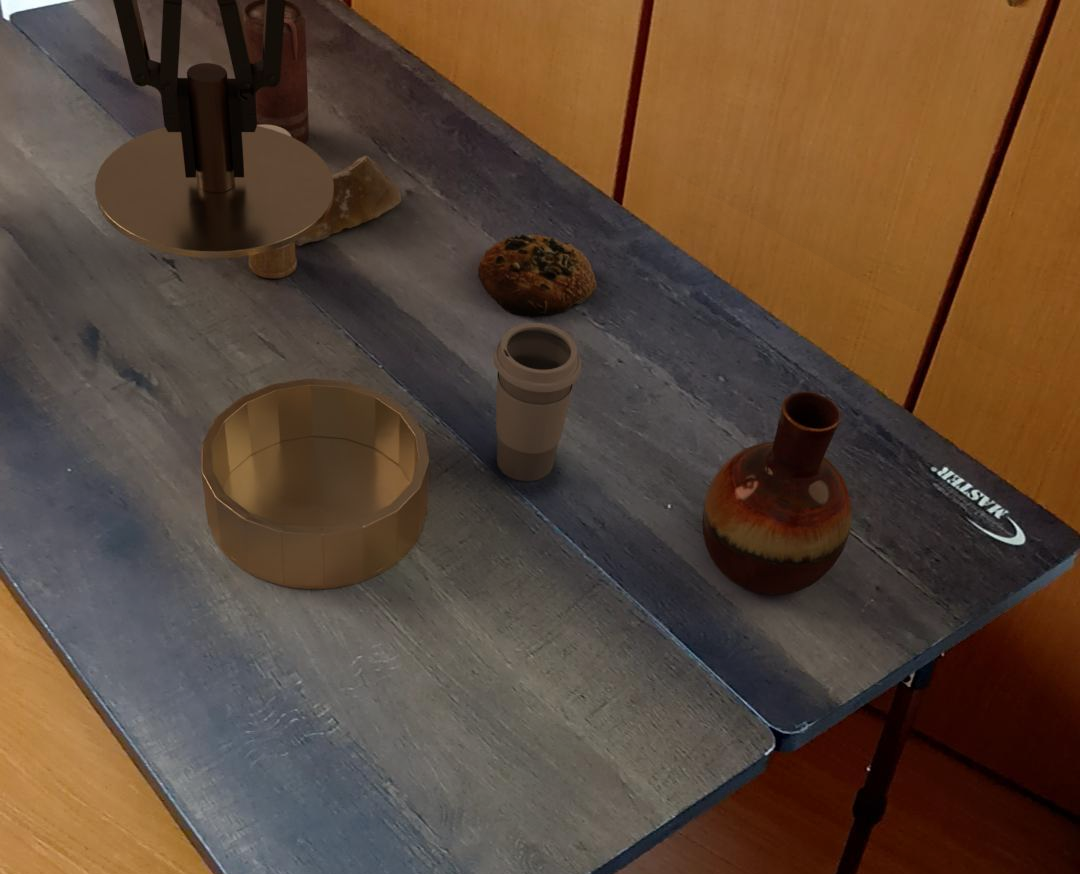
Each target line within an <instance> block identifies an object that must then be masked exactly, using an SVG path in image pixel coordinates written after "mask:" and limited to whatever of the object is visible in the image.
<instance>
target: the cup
mask: <svg viewBox="0 0 1080 874" xmlns="http://www.w3.org/2000/svg"><path fill="white" fill-rule="evenodd" d="M492 360H493V364H494V367H495V369H496V371H497V374H496V409H495V410H496V411H495V412H496V415H495V431H496V435H497V439H496V440H497V442H496V443H497V444H496V445H497V446H496V464H497V466H498V468H499V470H500V471H501V472H502V473H503V474H504V475H505V476H507V477H509V478H510V479H513V480H516V481H519V482H536V481H539V480H542V479H543V478H545V477H547V476H548V475H549V474H550V473H551V471H552V470H553V467H554V463H555V458H556V453H557V449H558V446H559V443H560V441H561V439H562V435H563V431H564V426H565V423H566V418H567V414H568V409H569V405H570V401H571V396H572V392H573V388H574V383H575V382H576V381H577V380H578V378H579V377H580V375H581V371H582V362H581V356H580V354H579V352H578V347H577V344H576V342H575V340H574V339H573V338H572V336H570V335H569V334H568V333H567V332H566V331H565V330H562V329H561V328H559V327H556V326H554V325H551V324H547V323H542V322H526V323H521V324H517V325H515V326H513V327H511V328H509V329H508V330H507V331H506V332H505V333H504V334H503V335H502V338H501V339H500V340H499V341H498V343H497V345H496V346H495V349H494V351H493V358H492Z"/></svg>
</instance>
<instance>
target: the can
mask: <svg viewBox="0 0 1080 874" xmlns="http://www.w3.org/2000/svg"><path fill="white" fill-rule="evenodd" d="M264 12H265V0H254V1H252V2H250V3H248V4H247V5H246V6H245V7H244V10H243V13H242V17H243V22H244V27H245V32H246V36H247V41H248V46H249V50H250V55H251V60H252V64H253V63H256V62H259V61H262V49H263V30H264ZM306 29H307V27H306V19H305V17H304V15H303V13H302V10H301V8H300V6H298V5H297V4H295V3H294V2H291V1H289V0H285V13H284V28H283V43H282V58H281V73H280V82H279V84H278V85H277V86H276V87H268V86H265V87H262V88H260V89H259V90H258V91H257V92H256V95H255V99H256V116H257V125H274V126H278V127H281V128H283V129H285V130H286V131H288V132H289V133H290V135H291V136H292V138H295V139H297V140H298V141H300V142H302V143H303V144H305V145H307V143H308V142H309V139H310V124H309V123H310V121H309V120H310V119H309V91H308V88H309V87H308V64H307V63H308V59H307V58H308V57H307V30H306Z"/></svg>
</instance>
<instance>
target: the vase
mask: <svg viewBox="0 0 1080 874" xmlns="http://www.w3.org/2000/svg"><path fill="white" fill-rule="evenodd" d="M840 421H841V412H840V409H839V408H838V406H837V405H836V404H835V402H834V401H832V400H831V399H830V398H828V397H826V396H824V395H822V394H819V393H816V392H811V391H799V392H794V393H791V394H790V395H787V397H785V399H784V400H783V403H782V404H781V409H780V413H779V418H778V423H777V428H776V432H775V436H774V439H773V441H766V442H761V443H757V444H755V445H751V446H749V447H747V448H744V449H743V450H740V451H739V452H737V453H736V454H734V455H732V457H731V458H729V459H728V460H727V461H726V462H725V463H724V464H723V465H722V466H721V467H720V468H719V470H718V471H717V472H716V474H715V475H714V477H713V478H712V480H711V482H710V484H709V487H708V489H707V491H706V494H705V498H704V502H703V507H702V534H703V539H704V543H705V547H706V550H707V552H708V554H709V557H710V559H711V560H712V562H713V563H714V565H715V566H716V567H717V569H718V570H719V571H720V572H721V573H722V575H724V576H725V577H726V578H727V579H729V580H730V581H731V582H732V583H734V584H736V585H737V586H739V587H741V588H743V589H745V590H748V591H750V592H753V593H757V594H762V595H770V596H771V595H772V596H773V595H774V596H781V595H788V594H792V593H793V594H794V593H796V592H797V593H798V592H799V591H802V590H804V589H807V588H808V587H810V586H812V585H813V584H815V583H816V582H818V581H820V579H822V578H823V577H824V576H825V575H826V574H827V573H828V572H830V570H831V569H832V568H833V566H834V565H835V564H836V562H837V561H838V559H839V557H840V556H841V555H842V554H843V551H844V550H845V547H846V544H847V542H848V539H849V536H850V533H851V530H852V529H851V527H852V521H853V520H852V519H853V510H852V500H851V495H850V493H849V490H848V487H847V484H846V483H845V481H844V479H843V477H842V475H841V474H840V472H839V471H838V470H837V468H836V467H835V466H834V464H832V463H831V462H830V461H829V460H828V459H827V458H826V457H825V455H826V453H827V451H828V448H829V447H830V443H831V442H832V439H833V437H834V435H835V433H836V431H837V429H838V427H839V424H840Z"/></svg>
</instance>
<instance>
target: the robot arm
mask: <svg viewBox="0 0 1080 874" xmlns="http://www.w3.org/2000/svg"><path fill="white" fill-rule="evenodd" d="M112 1H113V5H114V10H115V14H116V17H117V22H118V27H119V31H120V34H121V39H122V44H123V47H124V51H125V55H126V60H127V64H128V68H129V72H130V78H131V80H132V82H133V83H134V84H135V85H136V86H138V87H146V86H149V87H151V88H154V89H156V90H157V91H158V92H159V94H160V98H161V99H160V100H161V107H162V118H163V125H164V127H165V128H166V130H167V131H168V132H181V137H182V146H183V156H184V166H185V175H186V178H196V163H195V152H194V142H193V132H192V121H191V111H190V101H189V90H188V81H187V77H179V64H180V63H179V61H180V43H181V27H182V9H183V0H162V15H161V16H162V18H161V20H162V21H161V40H160V41H161V43H160V62H159V61H156V60H153V59H151V57H150V53H149V48H148V43H147V40H146V39H147V38H146V35H145V31H144V26H143V21H142V18H141V17H142V16H141V13H140V8H139V4H138V0H112ZM216 2H217V5H218V8H219V13H220V17H221V22H222V25H223V30H224V35H225V39H226V43H227V47H228V48H227V49H228V52H229V56H230V61H231V66H232V70H233V74H234V75H233V76H234V78H230V77H229V78H228V77H227V78H228V103H229V117H230V130H231V143H232V157H233V170H234V177H244V158H243V143H242V132H255V130H256V128H257V116H256V99H255V95H256V92H257V91H258V90H259V89H260V88H262V87H265V86H268V87H276V86H277V85H278V84H279V82H280V73H281V58H282V43H283V28H284V13H285V0H265V12H264V30H263V49H262V61H259V62H256V63H253V64H252V60H251V55H250V50H249V46H248V41H247V36H246V32H245V27H244V22H243V17H242V15H243V13H242V9H241V4H240V0H216Z"/></svg>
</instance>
